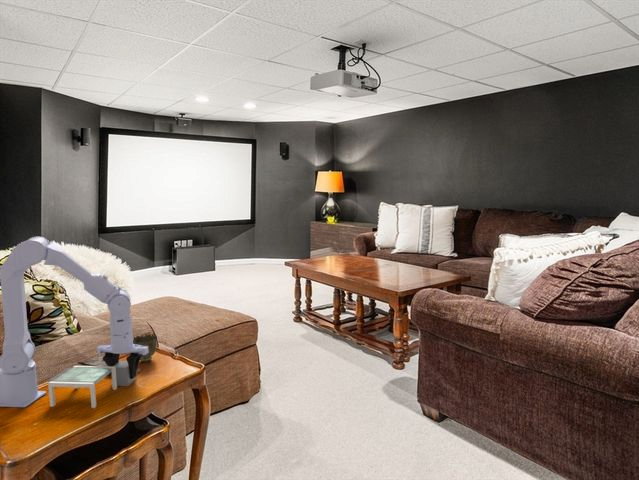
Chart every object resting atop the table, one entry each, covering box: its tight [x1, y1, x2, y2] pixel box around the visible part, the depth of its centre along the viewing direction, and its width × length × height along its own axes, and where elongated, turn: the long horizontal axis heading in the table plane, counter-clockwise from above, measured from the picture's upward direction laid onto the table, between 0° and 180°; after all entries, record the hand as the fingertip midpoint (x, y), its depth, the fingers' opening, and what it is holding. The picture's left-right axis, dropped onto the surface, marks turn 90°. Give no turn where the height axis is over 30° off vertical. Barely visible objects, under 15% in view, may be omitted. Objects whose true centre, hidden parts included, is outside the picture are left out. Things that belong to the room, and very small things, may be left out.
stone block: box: [113, 360, 137, 387], centre depth 123 cm, size 5×5×6 cm
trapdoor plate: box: [47, 366, 111, 385], centre depth 114 cm, size 12×8×2 cm
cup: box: [133, 333, 158, 363], centre depth 138 cm, size 8×7×8 cm
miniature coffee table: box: [47, 365, 118, 409], centre depth 114 cm, size 12×11×6 cm
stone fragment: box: [81, 355, 142, 373], centre depth 134 cm, size 25×3×10 cm
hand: (124, 377), depth 123 cm, fingers closed on stone block, 5 cm apart
